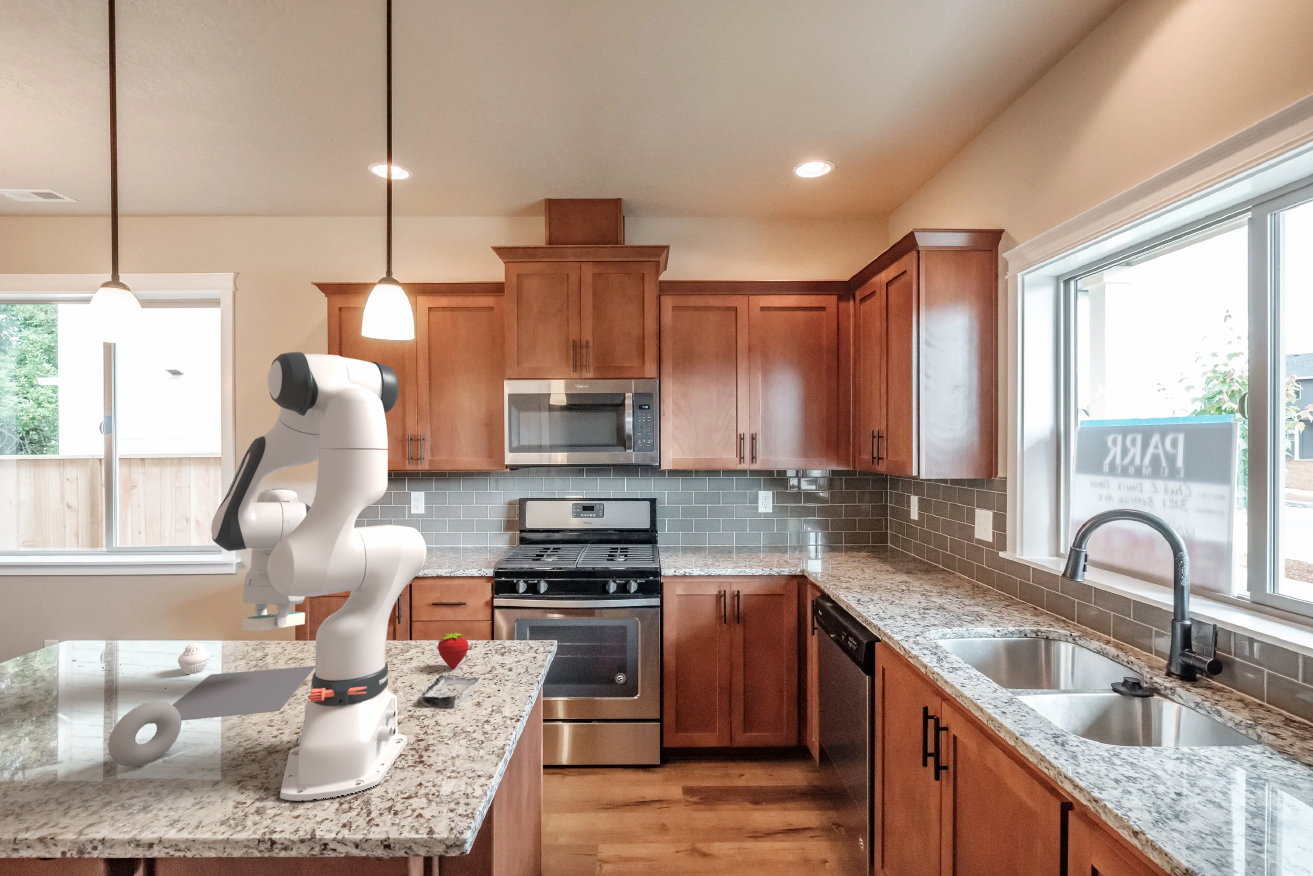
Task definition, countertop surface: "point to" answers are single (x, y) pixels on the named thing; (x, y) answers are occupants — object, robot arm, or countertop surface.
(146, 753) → the donut
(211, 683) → the mat
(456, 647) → the strawberry
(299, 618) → the card box
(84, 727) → the countertop surface
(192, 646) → the muffin
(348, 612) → the robot arm
